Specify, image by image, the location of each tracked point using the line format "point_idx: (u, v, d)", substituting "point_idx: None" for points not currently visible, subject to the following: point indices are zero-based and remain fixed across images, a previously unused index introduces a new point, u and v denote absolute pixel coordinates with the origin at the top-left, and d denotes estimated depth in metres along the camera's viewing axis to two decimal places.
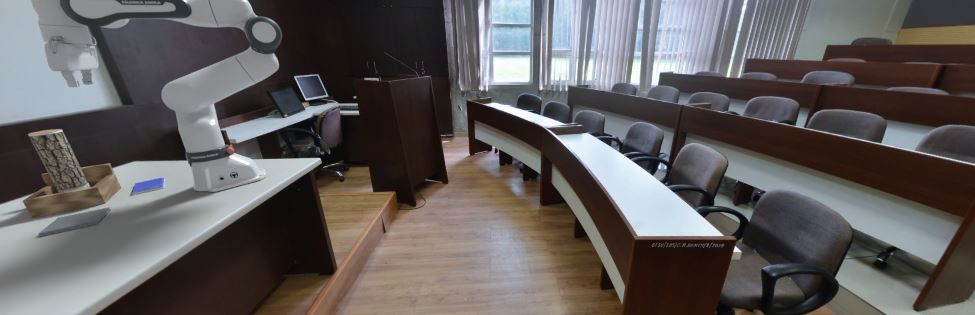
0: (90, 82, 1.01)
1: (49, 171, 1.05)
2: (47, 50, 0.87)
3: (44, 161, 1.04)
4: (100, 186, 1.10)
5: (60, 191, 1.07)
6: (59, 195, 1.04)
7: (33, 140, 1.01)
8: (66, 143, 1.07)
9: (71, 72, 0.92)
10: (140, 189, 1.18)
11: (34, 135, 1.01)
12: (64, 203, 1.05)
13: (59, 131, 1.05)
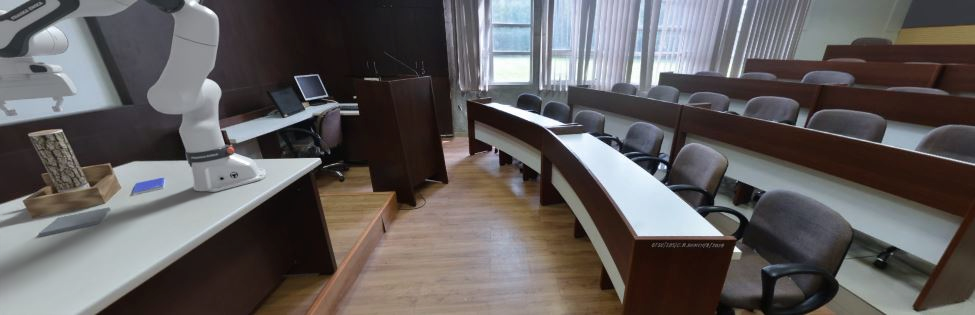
0: (53, 110, 1.03)
1: (49, 171, 1.05)
2: None
3: (44, 161, 1.04)
4: (100, 186, 1.10)
5: (60, 191, 1.07)
6: (59, 195, 1.04)
7: (33, 140, 1.01)
8: (66, 143, 1.07)
9: None
10: (140, 189, 1.18)
11: (34, 135, 1.01)
12: (64, 203, 1.05)
13: (59, 131, 1.05)
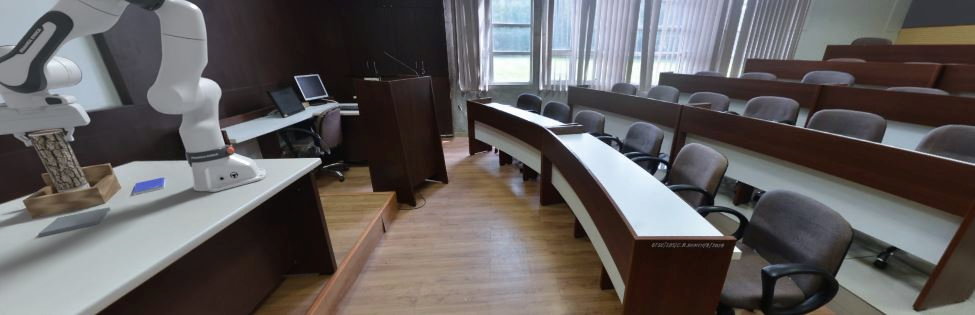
0: (65, 139, 1.06)
1: (49, 171, 1.05)
2: None
3: (44, 161, 1.04)
4: (100, 186, 1.10)
5: (60, 191, 1.07)
6: (59, 195, 1.04)
7: (33, 140, 1.01)
8: (66, 143, 1.07)
9: (14, 134, 1.00)
10: (140, 189, 1.18)
11: (34, 135, 1.01)
12: (64, 203, 1.05)
13: (59, 131, 1.05)
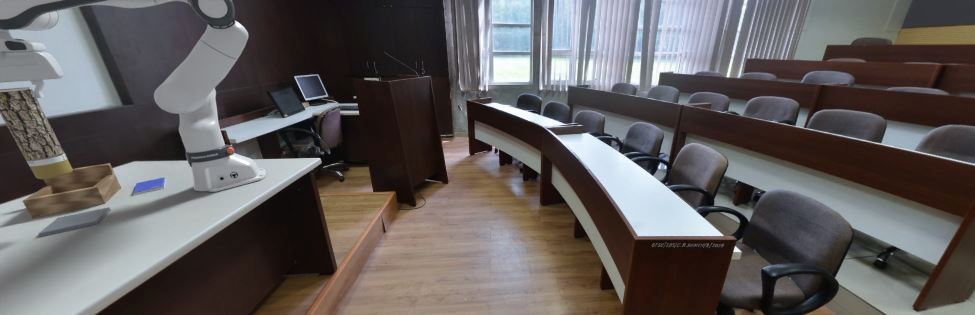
0: (32, 95, 0.88)
1: (15, 137, 0.87)
2: None
3: (8, 124, 0.86)
4: (100, 186, 1.10)
5: (29, 162, 0.89)
6: (59, 195, 1.04)
7: None
8: (36, 104, 0.89)
9: None
10: (141, 189, 1.18)
11: None
12: (64, 203, 1.05)
13: (26, 89, 0.87)
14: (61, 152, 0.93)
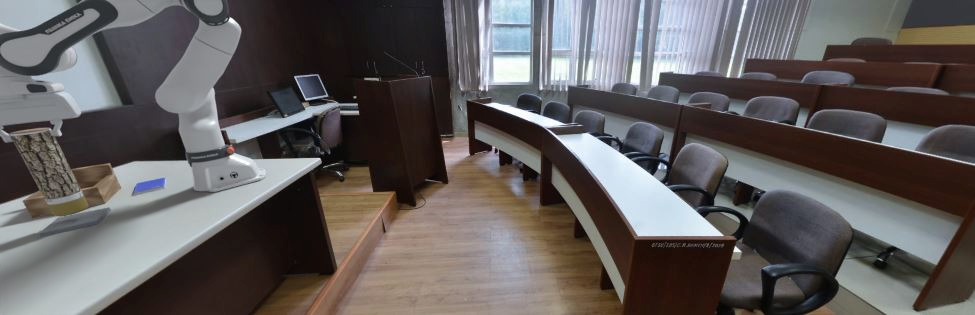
0: (51, 134, 0.90)
1: (34, 177, 0.89)
2: None
3: (28, 165, 0.88)
4: (100, 186, 1.10)
5: (47, 200, 0.92)
6: None
7: (15, 140, 0.86)
8: (55, 144, 0.91)
9: None
10: (141, 189, 1.18)
11: (16, 135, 0.85)
12: None
13: (46, 130, 0.89)
14: (78, 189, 0.96)
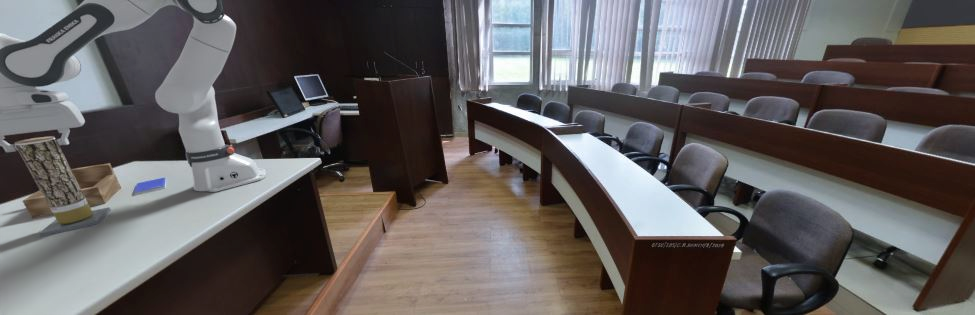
0: (59, 143, 0.91)
1: (39, 185, 0.90)
2: None
3: (33, 174, 0.89)
4: (100, 186, 1.10)
5: (52, 208, 0.93)
6: None
7: (20, 150, 0.87)
8: (59, 153, 0.92)
9: None
10: (142, 189, 1.18)
11: (21, 144, 0.86)
12: None
13: (51, 139, 0.90)
14: (82, 197, 0.97)
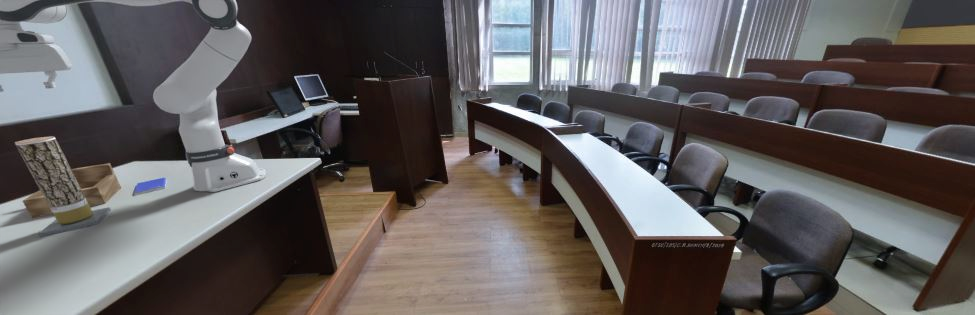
0: (45, 86, 0.91)
1: (39, 185, 0.90)
2: None
3: (33, 174, 0.89)
4: (100, 186, 1.10)
5: (52, 208, 0.93)
6: None
7: (20, 149, 0.87)
8: (59, 153, 0.92)
9: None
10: (142, 189, 1.18)
11: (21, 144, 0.86)
12: None
13: (51, 139, 0.90)
14: (82, 197, 0.97)
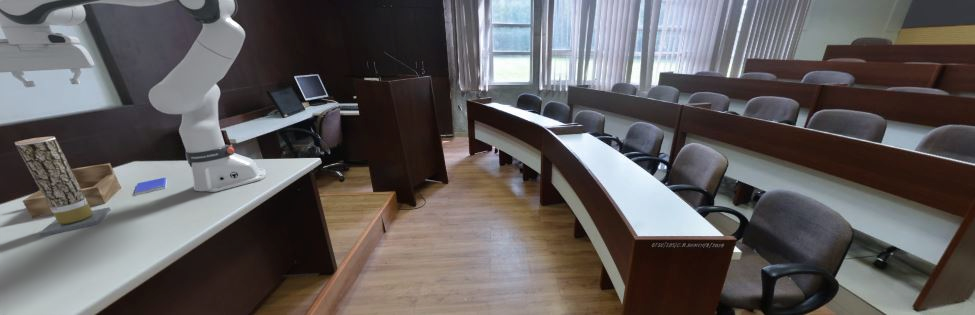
0: (71, 82, 1.02)
1: (39, 185, 0.90)
2: None
3: (33, 174, 0.89)
4: (100, 186, 1.10)
5: (52, 208, 0.93)
6: None
7: (20, 149, 0.87)
8: (59, 153, 0.92)
9: (12, 73, 0.96)
10: (142, 189, 1.18)
11: (21, 144, 0.86)
12: None
13: (51, 139, 0.90)
14: (82, 197, 0.97)
